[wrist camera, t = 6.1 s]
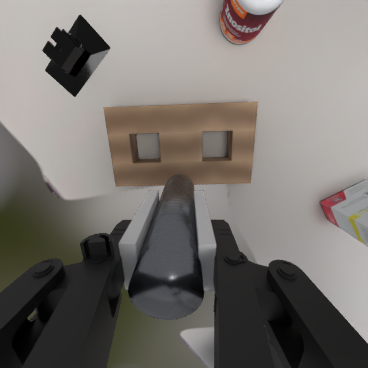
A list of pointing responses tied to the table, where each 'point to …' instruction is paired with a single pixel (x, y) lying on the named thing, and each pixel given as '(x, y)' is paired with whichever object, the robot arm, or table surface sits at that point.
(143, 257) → the pin
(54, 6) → the table surface
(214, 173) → the socket block
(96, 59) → the black stepped mount
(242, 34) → the pill bottle
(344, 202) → the ink box
